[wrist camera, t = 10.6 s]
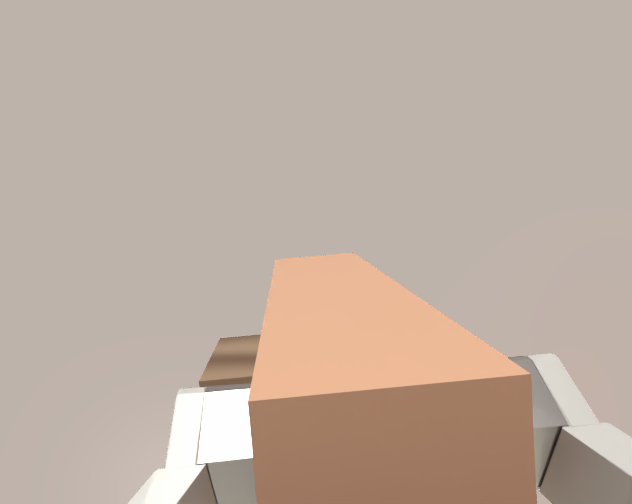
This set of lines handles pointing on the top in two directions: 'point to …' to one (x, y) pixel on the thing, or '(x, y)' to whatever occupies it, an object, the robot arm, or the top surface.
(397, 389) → the long slim case
